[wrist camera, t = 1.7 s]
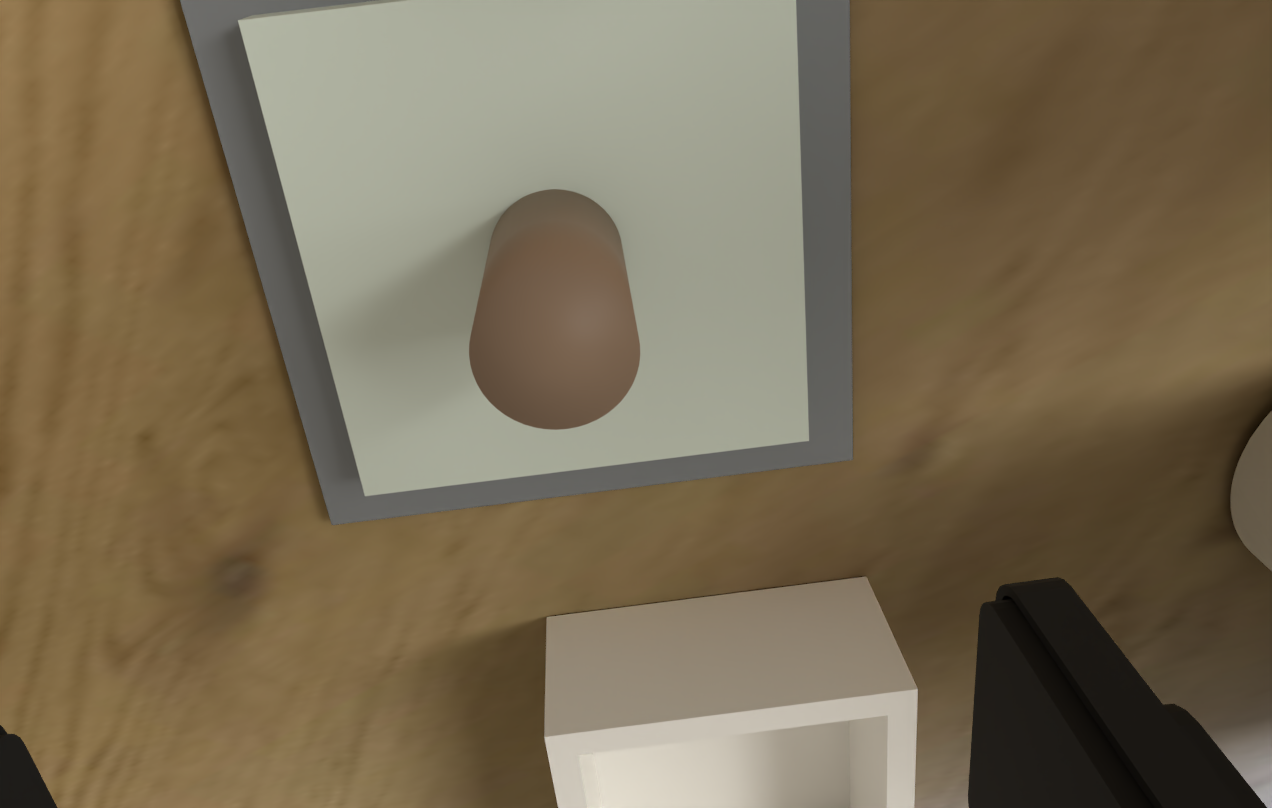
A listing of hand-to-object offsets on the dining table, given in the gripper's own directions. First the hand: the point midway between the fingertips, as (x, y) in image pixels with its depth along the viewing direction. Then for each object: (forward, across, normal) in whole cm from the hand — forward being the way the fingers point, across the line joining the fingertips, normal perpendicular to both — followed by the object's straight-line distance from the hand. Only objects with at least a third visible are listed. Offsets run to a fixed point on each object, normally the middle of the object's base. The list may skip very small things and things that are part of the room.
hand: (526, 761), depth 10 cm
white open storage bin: (+18, -3, +17) cm, 25 cm away
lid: (+17, 0, 0) cm, 17 cm away
